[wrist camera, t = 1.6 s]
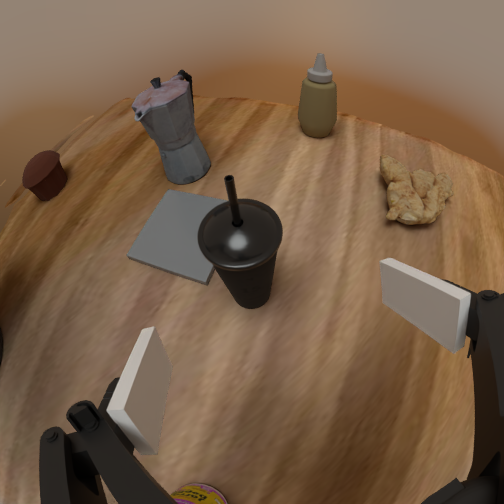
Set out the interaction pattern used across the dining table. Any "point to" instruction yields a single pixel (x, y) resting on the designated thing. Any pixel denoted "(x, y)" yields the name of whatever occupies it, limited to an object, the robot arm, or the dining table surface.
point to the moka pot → (173, 127)
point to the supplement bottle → (198, 495)
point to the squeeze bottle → (318, 100)
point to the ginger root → (414, 192)
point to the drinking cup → (242, 246)
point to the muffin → (44, 175)
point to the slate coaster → (176, 236)
